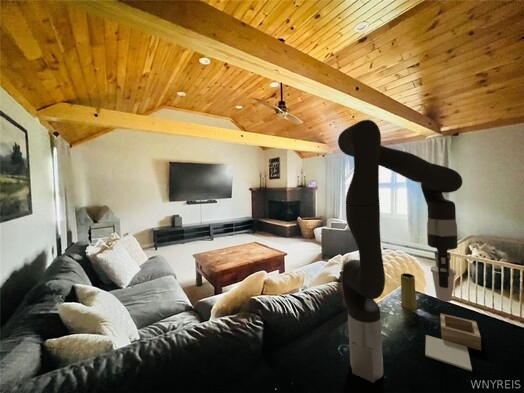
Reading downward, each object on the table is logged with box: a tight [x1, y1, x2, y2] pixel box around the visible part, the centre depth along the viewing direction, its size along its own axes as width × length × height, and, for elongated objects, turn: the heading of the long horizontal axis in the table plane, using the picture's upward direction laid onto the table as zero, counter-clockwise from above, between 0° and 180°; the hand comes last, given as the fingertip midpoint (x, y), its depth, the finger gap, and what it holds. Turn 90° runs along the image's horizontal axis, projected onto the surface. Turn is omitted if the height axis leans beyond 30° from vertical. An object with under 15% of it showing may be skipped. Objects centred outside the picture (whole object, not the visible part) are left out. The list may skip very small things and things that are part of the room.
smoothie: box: [430, 265, 457, 303], centre depth 72 cm, size 6×6×14 cm
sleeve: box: [439, 312, 482, 351], centre depth 79 cm, size 10×10×4 cm
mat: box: [424, 334, 473, 372], centre depth 72 cm, size 11×11×1 cm
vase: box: [400, 272, 418, 311], centre depth 100 cm, size 6×6×14 cm
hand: (443, 283), depth 72 cm, fingers closed on smoothie, 6 cm apart
